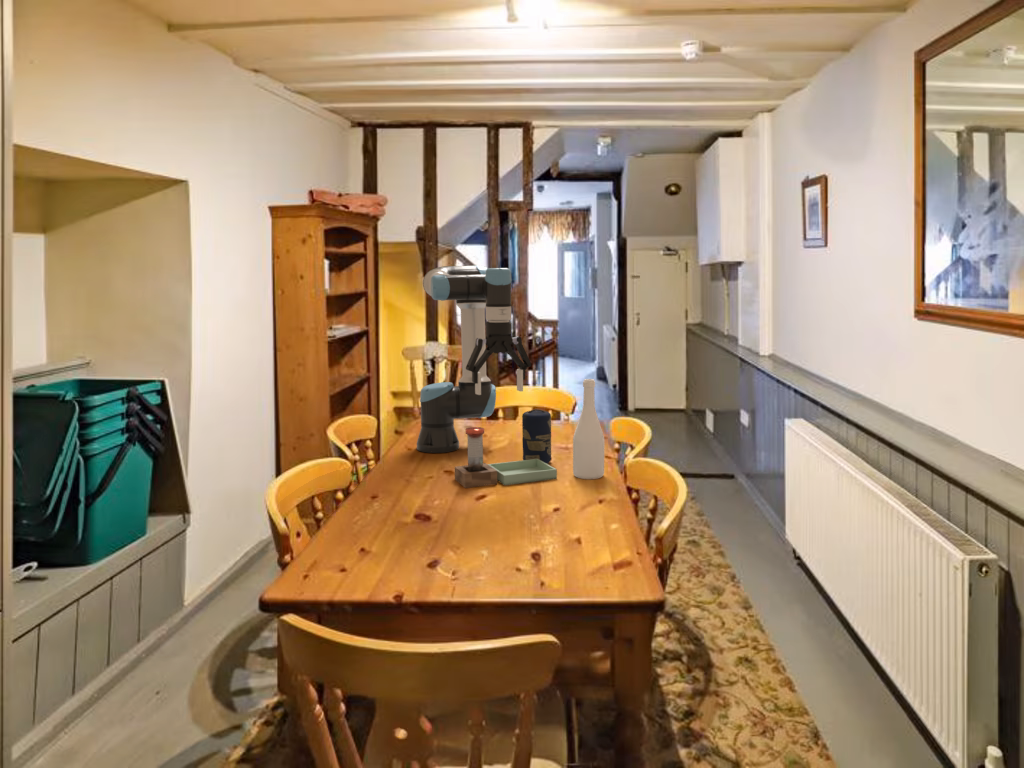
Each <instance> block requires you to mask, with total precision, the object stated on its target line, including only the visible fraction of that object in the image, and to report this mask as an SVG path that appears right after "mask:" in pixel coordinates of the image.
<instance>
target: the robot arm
mask: <svg viewBox="0 0 1024 768" xmlns="http://www.w3.org/2000/svg"><path fill="white" fill-rule="evenodd" d="M422 286H423V290H424V291H425V293H426V294H427V295H429V296H430V297H431V298H432V299H433V300H434V301H455V305H456V306H457V307H458V308H459V309H460V324H461V325H460V328H461V329H460V332H461V333H460V334H461V336H460V337H461V362H462V363H461V365H462V366H461V367H462V369H461V370H462V371H461V372H462V374H461V375H462V376H461V377H460V378H459V379H458V385H455V386H454V383H453V382H449V381H446V382H444V381H443V382H437V383H431V384H427V385H425V386H423V387H422V388H421V389H420V396H419V398H420V399H419V402H420V431H419V434H418V437H417V441H416V450H417V451H419V452H422V453H429V454H430V453H431V454H444V453H450V452H454V451H457V450H459V449H460V441H459V438H458V436H457V435H458V434H457V432H456V428H455V424H454V420H456V419H459V420H460V419H475V418H478V419H481V418H487V417H490V416H492V414H493V413H494V411H495V407H496V400H497V391H496V390H497V389H496V385H494V384H493V383H491V382H492V380H491V379H490V378H489V376H488V375H487V360H488V359H489V358H490V356H491V355H493V354H500V353H502V354H505V353H507V354H508V356H509V357H510V358H511V360H512V361H513V362H514V363H515V364H516V366H517V367H518V368H517V369H516V391H518V392H524V380H526V370H527V369H528V368H530V367H532V362H531V360H530V358H529V356H528V353H527V352H526V350H525V347H524V344H523V341H522V337H521V336H517V335H515V336H514V337H512V334H513V333H512V322H511V320H512V271H511V269H510V268H509V267H491V268H490V267H486V266H483V265H452V266H451V265H445V266H443V265H442V266H439V267H438V266H437V267H436V268H433V269H430V270H429V271H427V272H426V274H425V275H424V277H423V280H422ZM512 344H514V345H515V348H516V349H517V352H518V354H519V355H520V356H519V355H517V353H516V352H515V351H514V349H513V347H512V346H511V345H512Z"/></svg>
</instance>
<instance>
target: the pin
mask: <svg viewBox="0 0 1024 768" xmlns="http://www.w3.org/2000/svg"><path fill="white" fill-rule="evenodd" d="M465 434H466V435H467V465H468V472H477V471H483V463H484V450H483V449H484V447H483V446H484V445H483V444H484V441H483V440H484V439H483V438H484V436H483V435H484V434H485V428H484V427H481V426H480V427H478V426H470V427H466V428H465Z"/></svg>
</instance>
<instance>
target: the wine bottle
mask: <svg viewBox="0 0 1024 768" xmlns="http://www.w3.org/2000/svg"><path fill="white" fill-rule="evenodd" d="M582 387H583V399H582V400H583V405H582V411H581V413H580V416H579V418H578V421H577V422H578V423H577V425H576V427H575V430H574V434H573V437H572V440H573V441H572V472H573V475H574V477H576V478H579V479H580V480H597V479H600V478H602V477H603V476H604V474H605V436H604V432H603V429H602V427H601V426H602V425H601V422H600V420H599V417H598V414H597V411H596V406H595V401H596V400H595V388H596V381H595V379H593V378H585V379H583V380H582Z"/></svg>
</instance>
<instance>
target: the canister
mask: <svg viewBox="0 0 1024 768" xmlns="http://www.w3.org/2000/svg"><path fill="white" fill-rule="evenodd" d="M521 418H522V420H521V424H522V460H530V459H539V460H541V461H543V462H544V463H546V464H549V463H550V462H551V461H552V414H551V413H550V412H549V411H546V410H543V409H537V408H536V409H535V408H534V409H532V410H531V409H530V410H528V411H525V412H523V413H522V415H521Z"/></svg>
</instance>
